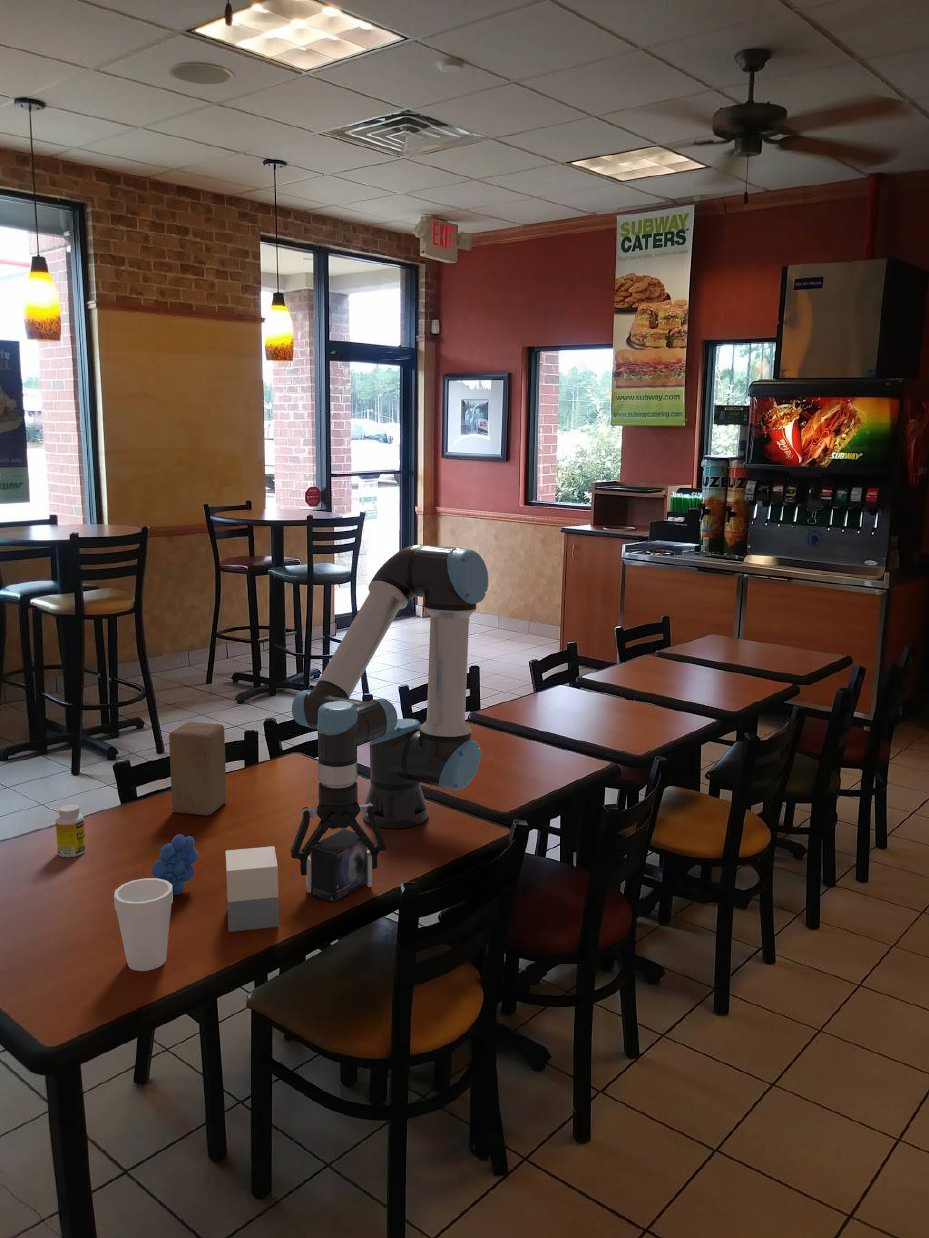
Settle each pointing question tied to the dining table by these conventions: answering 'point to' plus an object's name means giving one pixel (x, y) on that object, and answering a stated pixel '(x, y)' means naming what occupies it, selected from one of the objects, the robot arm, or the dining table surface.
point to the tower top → (251, 874)
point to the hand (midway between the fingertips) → (339, 886)
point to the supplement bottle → (70, 831)
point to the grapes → (176, 862)
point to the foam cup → (144, 921)
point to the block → (197, 768)
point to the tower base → (253, 914)
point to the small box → (338, 866)
